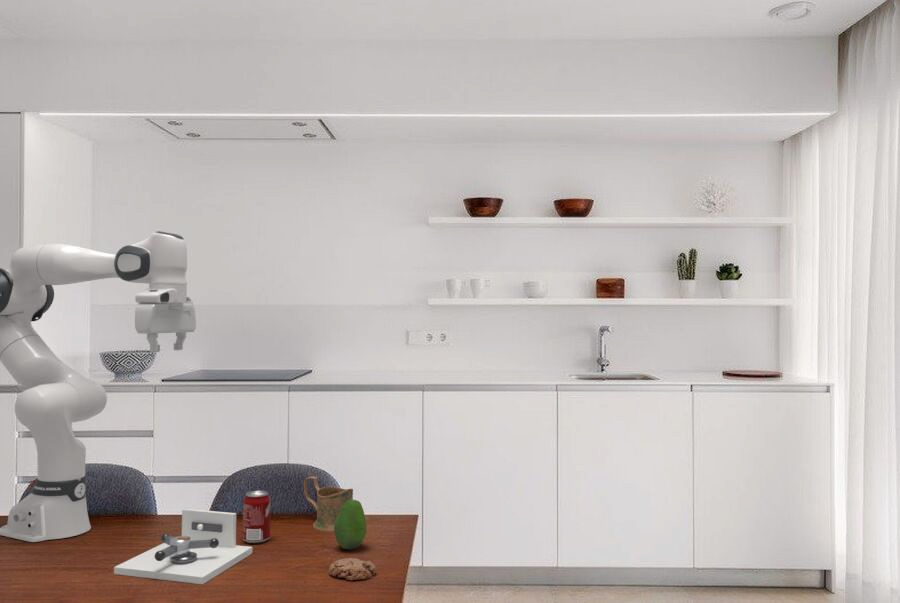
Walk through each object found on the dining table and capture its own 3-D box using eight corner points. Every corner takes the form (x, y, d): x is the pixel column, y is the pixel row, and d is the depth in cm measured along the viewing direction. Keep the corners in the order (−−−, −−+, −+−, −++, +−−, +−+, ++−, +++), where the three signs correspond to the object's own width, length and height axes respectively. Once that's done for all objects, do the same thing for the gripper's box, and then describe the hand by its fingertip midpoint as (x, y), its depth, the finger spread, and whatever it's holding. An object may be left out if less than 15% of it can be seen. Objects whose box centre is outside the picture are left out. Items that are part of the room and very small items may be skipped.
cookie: (330, 567, 168) (330, 554, 168) (376, 567, 168) (376, 553, 169) (325, 583, 158) (326, 569, 158) (375, 583, 159) (375, 569, 159)
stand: (113, 574, 161) (114, 530, 161) (172, 544, 181) (173, 506, 181) (202, 584, 155) (203, 539, 156) (252, 553, 176) (253, 513, 176)
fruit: (326, 548, 180) (327, 499, 180) (351, 541, 186) (352, 494, 186) (347, 556, 175) (348, 505, 175) (372, 548, 181) (373, 499, 181)
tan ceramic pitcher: (319, 513, 211) (320, 472, 211) (364, 524, 201) (365, 480, 201) (289, 522, 202) (289, 479, 202) (334, 534, 191) (335, 488, 192)
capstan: (126, 568, 160) (127, 545, 160) (164, 549, 172) (164, 528, 172) (186, 574, 156) (187, 551, 156) (220, 555, 169) (220, 533, 169)
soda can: (262, 545, 181) (263, 497, 182) (237, 543, 183) (238, 495, 183) (274, 537, 188) (275, 490, 188) (250, 535, 189) (250, 489, 190)
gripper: (181, 297, 195) (180, 348, 194) (130, 295, 175) (129, 352, 175) (202, 297, 193) (201, 349, 193) (153, 295, 173) (152, 353, 173)
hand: (166, 351), depth 184 cm, fingers open, 8 cm apart
